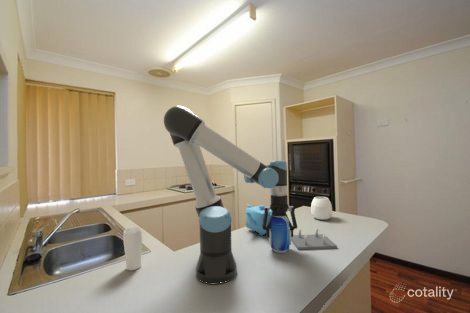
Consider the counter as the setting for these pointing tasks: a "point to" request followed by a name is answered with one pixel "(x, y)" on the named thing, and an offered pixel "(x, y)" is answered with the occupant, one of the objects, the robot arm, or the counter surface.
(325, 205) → the cup
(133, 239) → the white cylinder
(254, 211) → the teakettle
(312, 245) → the pegboard
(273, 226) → the beer can
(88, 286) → the counter surface
